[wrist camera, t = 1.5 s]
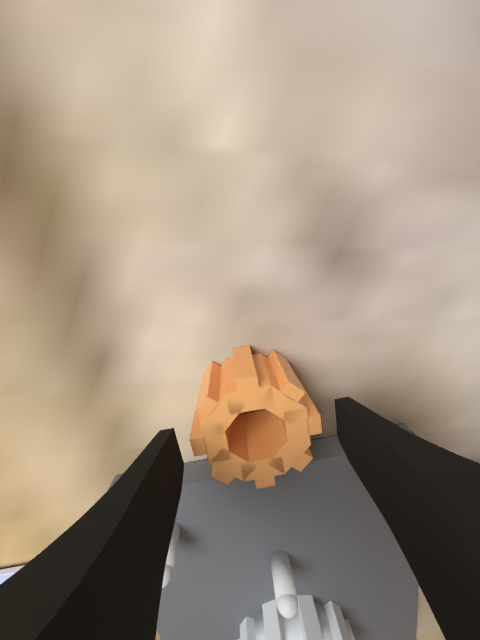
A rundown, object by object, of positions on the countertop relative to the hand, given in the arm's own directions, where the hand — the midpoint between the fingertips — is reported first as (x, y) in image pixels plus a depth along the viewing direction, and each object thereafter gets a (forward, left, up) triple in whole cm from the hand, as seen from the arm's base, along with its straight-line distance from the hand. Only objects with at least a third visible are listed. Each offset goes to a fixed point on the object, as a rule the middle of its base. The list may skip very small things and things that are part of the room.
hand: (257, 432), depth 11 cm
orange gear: (0, 0, -3) cm, 3 cm away
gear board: (0, -14, -3) cm, 14 cm away
